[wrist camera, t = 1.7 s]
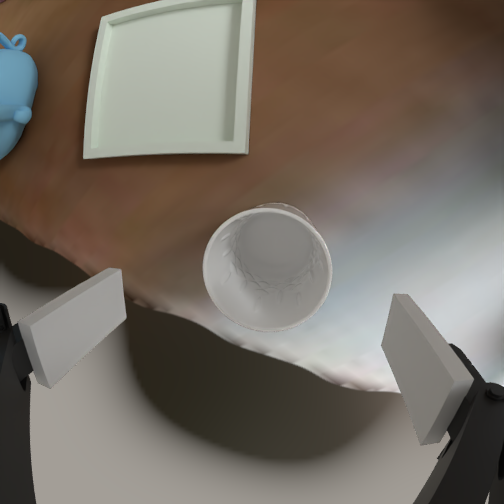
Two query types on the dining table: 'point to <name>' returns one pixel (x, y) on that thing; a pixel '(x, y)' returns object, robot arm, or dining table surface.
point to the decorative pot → (15, 91)
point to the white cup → (267, 268)
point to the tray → (172, 80)
